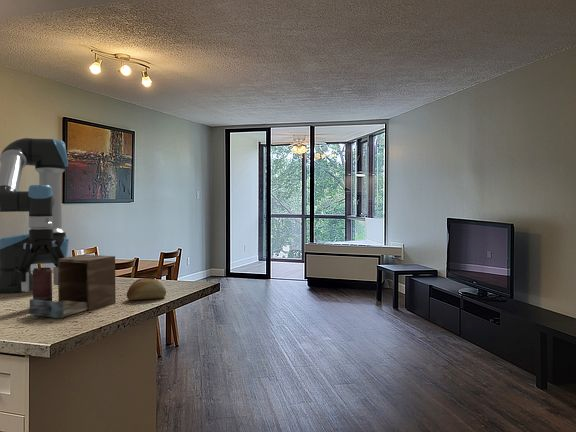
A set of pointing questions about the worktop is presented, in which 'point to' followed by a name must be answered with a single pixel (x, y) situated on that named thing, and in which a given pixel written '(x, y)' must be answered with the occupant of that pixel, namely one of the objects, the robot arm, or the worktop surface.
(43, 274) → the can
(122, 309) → the worktop surface
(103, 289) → the box
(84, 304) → the tray
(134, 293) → the bread roll
